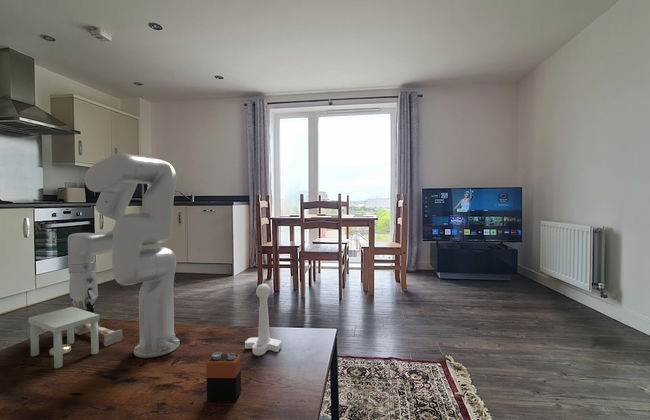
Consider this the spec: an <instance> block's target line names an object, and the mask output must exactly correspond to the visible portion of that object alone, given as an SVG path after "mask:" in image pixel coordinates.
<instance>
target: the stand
mask: <svg viewBox="0 0 650 420" xmlns="http://www.w3.org/2000/svg"><path fill="white" fill-rule="evenodd" d="M100 318H101V317H100V314H98V313H95V312H94V313H92V312H88V311H85V310H81V309H78V308H75V307H73V306H70V307H66V308H61V309H57V310H53V311H49V312H46V313H41V314H37V315H34V316H29V317H27V319H28V320H27V322H28V323H29V332H30V333H29V334H30V335H29V336H30V357H36V356H38V355H40V342H39V341H40V335H39V328H40V329H43V330H46V331H49V332H52V333H53V335H52V336H53V347H54V356H53V366H54V367H53V368H54V369H60V368H62V367H63V366H64V365H63V363H64V361H63V360H64V359H63V355H64V354H62V345H63V332H64V331H66V344H70V345H72V344H74V343H75V327H77V326H80V325H84V324H87V323H90V322H91V331H90V353H91V355H96V354H98V353H99V351H100V350H99V349H100V348H99V333H98V326H99V321H100V320H101V319H100Z"/></svg>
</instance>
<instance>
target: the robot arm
mask: <svg viewBox="0 0 650 420" xmlns="http://www.w3.org/2000/svg"><path fill="white" fill-rule="evenodd" d="M177 182H178V177H177V172H176V170H175V167H174V166H173V165H172V164H171V163H170V162H168V161H166V160H164V159H160V158H157V157H151V156H145V155H136V154H131V153H123V152H122V153H114V154H111V155H110V156H107V157H105V158H103V159H101V160H99V161H98V162H95V163H93V164H92V165H91V166H90V167H89V168H88V169H87V171H86V172H85V176H84V184H85V186H86V188H87V189H88V190H89V191H91V192H95V193H100V194H99V196H98V198H97V201H96V203H95V210H96V211H97V212H98V214H100V215H102V216H104V217H105V218H108V219H111V220H114V221H115V223H114V226H113V228H112V230H111V231H105V232H104V231H103V232H93V233H92V232H76V233H72V234H69V235H68V237H67V259H68V260H67V265H68V266H67V267H68V270H67V271H68V275H69V285H68V286H69V297H70V299H71V307H74V299H75V300H78V301H82V302H83V307H84V309H83V310H85V311H88V312H92V313H95V304H96V302H97V298H98V297H99V289H98V288H99V287H98V279H97V274H96V256H97V255H98V256H99V255H102V254H109V253H111V256H112V257H111V259H112V260H111V268H112V269H111V270H112V276H113V278H114V280H115V281H116V283H118V284H119V285H122V286H130V285H136V284H140V283H142V284H141V286H140V288H139V292H138V321H139V322H138V325H139V326H138V327H139V328H138V329H139V330H138V331H139V333H138V335H139V336H138V337H139V343H138V344H137V345H135V347H134V349H133V354H134V356H135V357H138V358H141V359H142V358H144V359H150V358H157V357H160V356H164V355H167V354H170V353H172V352H173V351H175V350H176V349H177V348H179V347H180V344H181V343H180V339H179V338H178V337H176V333H175V316H174V315H175V314H174V312H175V309H174V308H175V306H174V305H175V304H174V302H175V301H174V300H175V299H174V287H175V286H174V285H175V284H174V283H175V274H176V269H177V256H176V254H175V252H174V251H173V250H172V249H170V248H169V247H166V246H165V247H164V246H156V247H149V248H143V249H142V247H143V246H148V245H156V244H162V243H165V242H167V241H168V240H171V237H172V234H173V225H174V198H175V194H176V189H177ZM138 184H142V185H143V184H145V185H150V186H149V187H148V188H147V189H146V191H145V193H144V194H143V195H142V200H141V211H140V212H138V213H135V212H134V213H133V212H132V213H127V214H126V211H127V208H128V207H129V204H130V202H131V200H132V198H133V195H134V193H135V191H136V188H137V186H138ZM86 298H90V299H88V300H86ZM89 301H90V302H89ZM86 302H88V304H86Z"/></svg>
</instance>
